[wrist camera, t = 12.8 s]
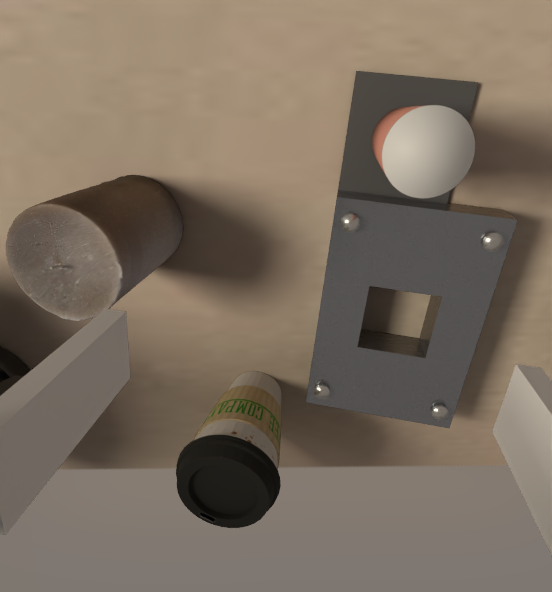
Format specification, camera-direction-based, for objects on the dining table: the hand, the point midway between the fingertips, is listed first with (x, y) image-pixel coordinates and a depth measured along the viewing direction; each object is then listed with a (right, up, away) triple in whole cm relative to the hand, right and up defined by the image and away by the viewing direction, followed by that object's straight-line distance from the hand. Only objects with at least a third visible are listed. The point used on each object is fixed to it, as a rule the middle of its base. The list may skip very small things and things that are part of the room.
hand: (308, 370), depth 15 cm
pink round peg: (+10, +16, +23) cm, 30 cm away
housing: (+11, +2, +30) cm, 32 cm away
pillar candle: (-15, +10, +31) cm, 36 cm away
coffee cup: (-3, -9, +37) cm, 38 cm away
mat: (+10, +16, +24) cm, 31 cm away
